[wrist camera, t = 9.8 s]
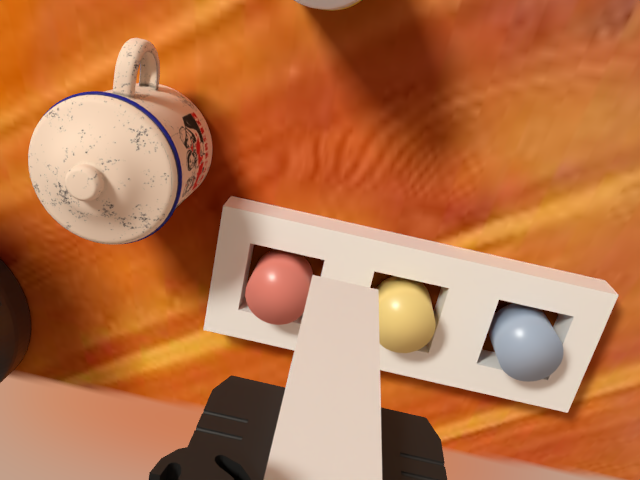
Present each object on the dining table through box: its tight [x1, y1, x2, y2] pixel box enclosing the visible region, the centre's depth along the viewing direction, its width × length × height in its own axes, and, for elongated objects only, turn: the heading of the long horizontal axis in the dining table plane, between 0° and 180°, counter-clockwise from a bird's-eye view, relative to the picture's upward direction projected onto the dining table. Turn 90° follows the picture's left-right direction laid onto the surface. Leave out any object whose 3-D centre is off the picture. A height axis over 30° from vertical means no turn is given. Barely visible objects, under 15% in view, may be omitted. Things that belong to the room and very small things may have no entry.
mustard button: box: [376, 276, 436, 353], centre depth 43 cm, size 4×4×4 cm
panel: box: [204, 196, 618, 413], centre depth 44 cm, size 28×10×2 cm, turn 78°
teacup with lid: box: [28, 38, 212, 244], centre depth 37 cm, size 12×9×12 cm
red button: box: [245, 249, 313, 325], centre depth 43 cm, size 4×4×4 cm
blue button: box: [489, 303, 564, 382], centre depth 43 cm, size 4×4×4 cm
